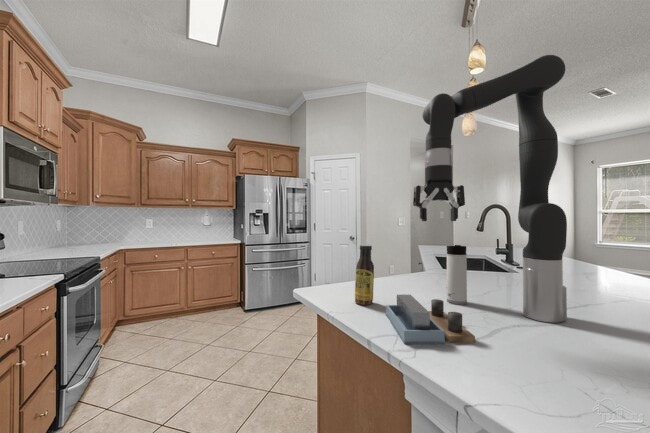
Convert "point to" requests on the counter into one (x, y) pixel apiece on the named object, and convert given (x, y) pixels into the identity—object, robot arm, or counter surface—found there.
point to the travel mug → (456, 275)
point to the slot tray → (415, 336)
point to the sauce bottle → (364, 277)
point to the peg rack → (450, 323)
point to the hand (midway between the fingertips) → (438, 221)
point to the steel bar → (412, 313)
